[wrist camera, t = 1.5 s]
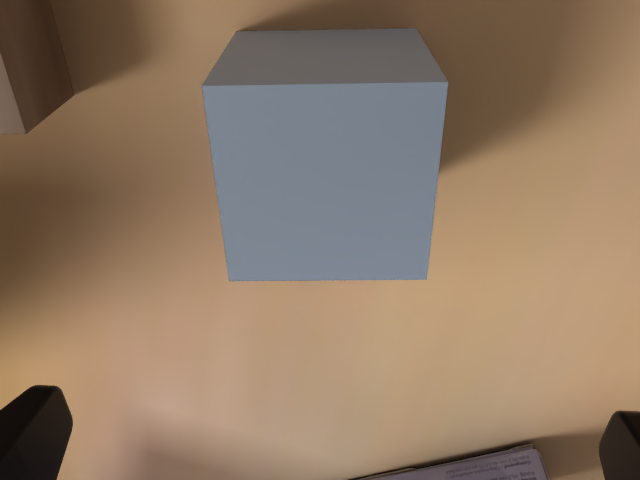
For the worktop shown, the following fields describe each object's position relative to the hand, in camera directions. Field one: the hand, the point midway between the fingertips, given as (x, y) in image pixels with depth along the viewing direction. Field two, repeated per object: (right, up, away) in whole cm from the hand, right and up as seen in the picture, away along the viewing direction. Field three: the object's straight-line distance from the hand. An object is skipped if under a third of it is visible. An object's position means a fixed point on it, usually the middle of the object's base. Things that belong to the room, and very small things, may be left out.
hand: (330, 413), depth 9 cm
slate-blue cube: (0, +7, +11) cm, 13 cm away
